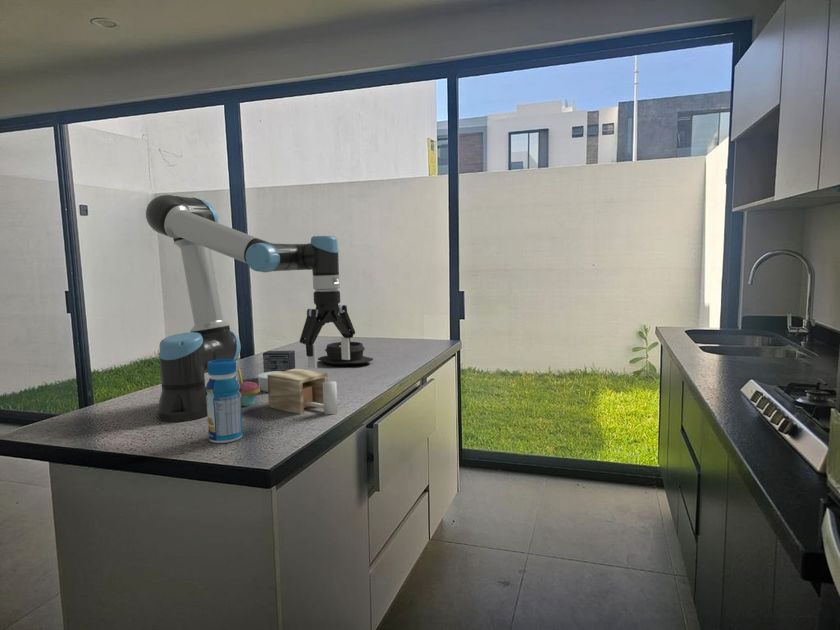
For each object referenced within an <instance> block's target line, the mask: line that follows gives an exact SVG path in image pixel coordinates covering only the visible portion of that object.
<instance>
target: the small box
mask: <svg viewBox="0 0 840 630" xmlns="http://www.w3.org/2000/svg"><path fill="white" fill-rule="evenodd" d="M295 352H296V351H295V350H267V351H265V352H262V361H263V373H265V372H272V371H287V370H291V369H295V368H296V355H295Z"/></svg>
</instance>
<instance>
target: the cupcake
mask: <svg viewBox="0 0 840 630" xmlns="http://www.w3.org/2000/svg"><path fill="white" fill-rule="evenodd" d="M237 373H238V376H239V377H238V378H239V383H240V389H239V392H240V393H241V407H247V406H252V405H254V404H255V402H256V398H257V395H258V394H259V393H260V392H261V389H260V385H259V384H258V383H256V382H254V381H251V380H250V381H243V378H242V373H241V369H240V368H239V367H237Z"/></svg>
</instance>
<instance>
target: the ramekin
mask: <svg viewBox="0 0 840 630" xmlns="http://www.w3.org/2000/svg"><path fill="white" fill-rule="evenodd" d="M278 372H283V371H272V372H265V373H264V372H262V373H259V374H257V380H258V383H259V384H258V385H259V387H260V391H262V392H266V393H268V378H267V375H270V374H274V373H278Z"/></svg>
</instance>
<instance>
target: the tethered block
mask: <svg viewBox="0 0 840 630" xmlns="http://www.w3.org/2000/svg"><path fill="white" fill-rule="evenodd" d="M337 387H338V385H337V381H336V380H335V381H334V380H328V381H326V382H323V404H320V403H315V402H313V398H312V386H308V385H303V407H304V409H305V408H309V407H313V408H319V409H323V414H324V415H326V414H333V415H336V414H338V413H337V412H339V411H338V388H337Z"/></svg>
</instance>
